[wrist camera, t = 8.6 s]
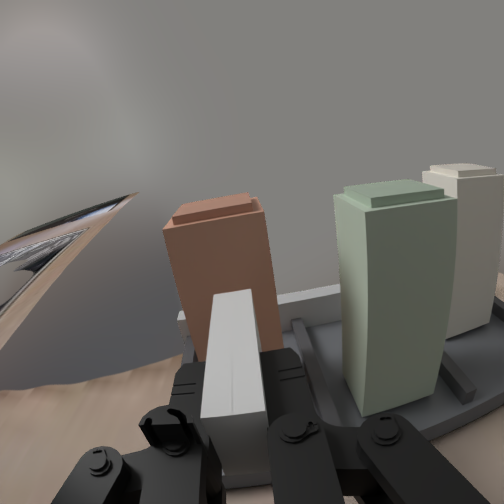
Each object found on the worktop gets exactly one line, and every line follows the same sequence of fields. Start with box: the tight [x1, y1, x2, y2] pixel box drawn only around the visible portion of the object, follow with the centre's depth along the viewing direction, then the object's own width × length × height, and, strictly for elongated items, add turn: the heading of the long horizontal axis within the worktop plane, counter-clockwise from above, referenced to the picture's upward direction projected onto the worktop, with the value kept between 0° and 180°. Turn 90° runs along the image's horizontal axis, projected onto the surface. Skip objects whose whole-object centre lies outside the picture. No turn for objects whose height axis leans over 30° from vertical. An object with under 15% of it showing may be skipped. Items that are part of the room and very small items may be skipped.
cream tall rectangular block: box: [422, 163, 504, 339], centre depth 19 cm, size 4×4×11 cm
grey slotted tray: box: [177, 284, 504, 489], centre depth 20 cm, size 26×14×4 cm, turn 93°
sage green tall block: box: [333, 179, 457, 417], centre depth 15 cm, size 4×4×11 cm
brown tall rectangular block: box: [163, 192, 284, 362], centre depth 18 cm, size 4×4×11 cm
